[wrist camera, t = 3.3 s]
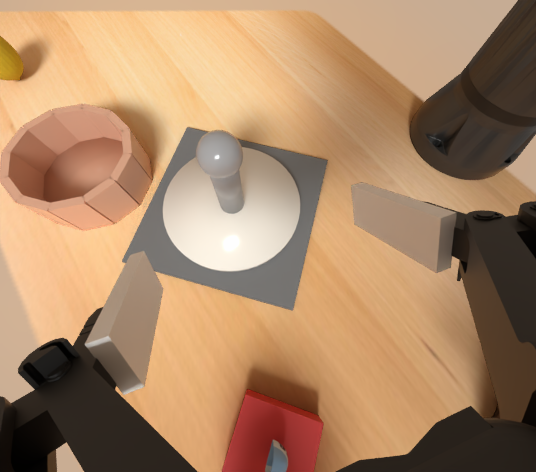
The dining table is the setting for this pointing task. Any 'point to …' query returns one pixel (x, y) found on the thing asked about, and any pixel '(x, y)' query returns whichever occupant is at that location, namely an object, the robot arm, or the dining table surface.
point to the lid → (231, 206)
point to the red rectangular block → (273, 437)
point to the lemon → (9, 62)
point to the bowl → (76, 167)
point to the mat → (249, 281)
